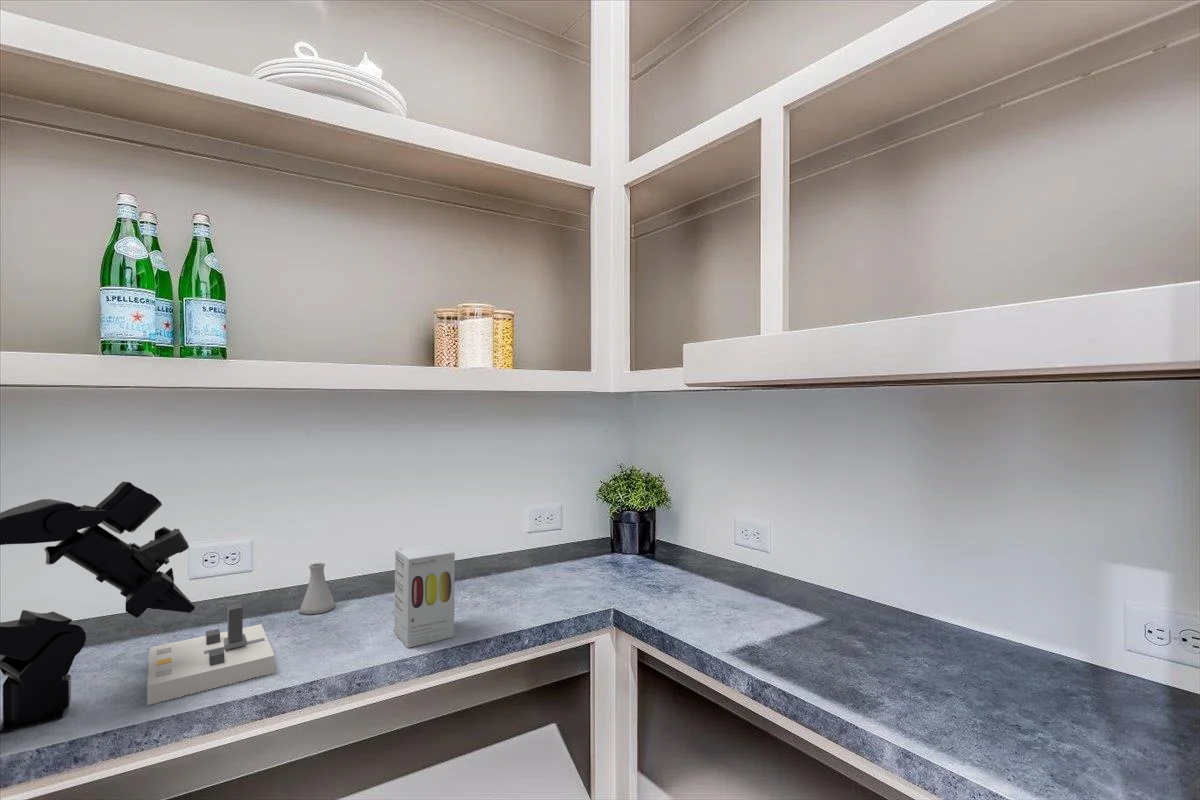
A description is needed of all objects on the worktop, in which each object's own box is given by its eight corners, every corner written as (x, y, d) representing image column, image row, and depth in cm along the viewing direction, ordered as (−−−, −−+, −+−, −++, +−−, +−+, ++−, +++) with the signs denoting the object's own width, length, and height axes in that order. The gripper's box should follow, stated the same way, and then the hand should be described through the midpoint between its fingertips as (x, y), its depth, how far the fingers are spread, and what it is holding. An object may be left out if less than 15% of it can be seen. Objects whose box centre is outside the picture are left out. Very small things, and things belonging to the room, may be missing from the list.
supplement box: (406, 649, 106) (406, 559, 106) (392, 632, 114) (392, 548, 114) (456, 636, 112) (455, 551, 112) (439, 621, 119) (439, 541, 119)
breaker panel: (147, 705, 87) (147, 676, 87) (150, 664, 100) (150, 638, 100) (274, 672, 97) (274, 646, 97) (261, 639, 110) (261, 616, 110)
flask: (340, 603, 130) (340, 559, 130) (325, 615, 123) (325, 569, 123) (309, 603, 130) (309, 560, 130) (292, 615, 123) (292, 569, 123)
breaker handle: (225, 649, 98) (225, 611, 98) (223, 642, 101) (223, 605, 101) (246, 644, 100) (246, 607, 100) (244, 638, 103) (244, 601, 103)
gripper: (153, 526, 87) (238, 583, 94) (152, 508, 101) (226, 558, 108) (84, 588, 82) (179, 644, 89) (93, 560, 96) (174, 609, 103)
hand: (192, 609), depth 97 cm, fingers closed
